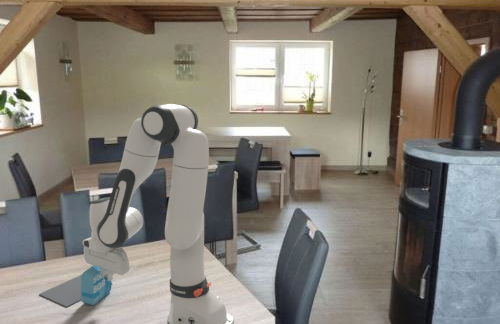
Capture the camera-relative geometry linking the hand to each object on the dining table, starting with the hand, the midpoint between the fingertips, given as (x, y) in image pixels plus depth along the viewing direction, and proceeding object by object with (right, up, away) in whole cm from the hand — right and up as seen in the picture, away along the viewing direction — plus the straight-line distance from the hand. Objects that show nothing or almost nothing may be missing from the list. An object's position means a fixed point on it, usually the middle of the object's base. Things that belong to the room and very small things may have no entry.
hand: (108, 279), depth 149 cm
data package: (-6, -8, +6) cm, 12 cm away
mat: (-16, -7, +12) cm, 22 cm away
